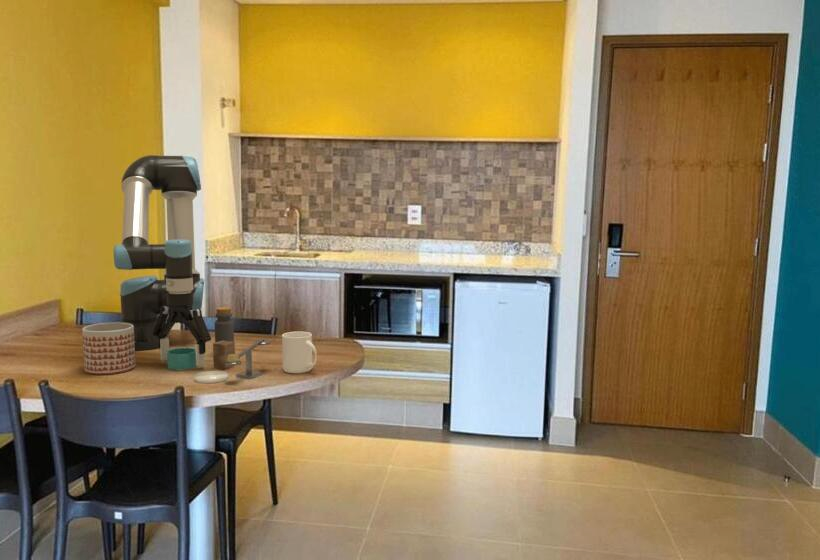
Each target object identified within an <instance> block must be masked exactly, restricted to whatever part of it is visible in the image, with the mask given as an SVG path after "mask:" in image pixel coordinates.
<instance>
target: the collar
mask: <svg viewBox="0 0 820 560" xmlns="http://www.w3.org/2000/svg"><path fill="white" fill-rule="evenodd" d="M166 362H167V369H168V370H174V371H182V370H183V371H184V370H190V369H191V370H192V369H194V368H196V367H197V368H198V366H197V365H196V348H194V347H179V348H178V347H176V348H172V349H169V350H168V351H167V359H166Z"/></svg>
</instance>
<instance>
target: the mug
mask: <svg viewBox="0 0 820 560" xmlns="http://www.w3.org/2000/svg"><path fill="white" fill-rule="evenodd" d="M281 338H282V340H281V342H282V343H281V344H282V348H281V349H282V370H283V372H285V373H288V374H305V373H308V372H310V371H311V370H312V368H313V367H314V366H315V365H316V363H317V359H318V358H317V355H318V353H317V348H316V346H315V344H313V333H311V332H308V331H290V332H285V333H282V335H281ZM313 353H314V358H315V359H314V360H313Z"/></svg>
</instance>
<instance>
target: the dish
mask: <svg viewBox="0 0 820 560" xmlns="http://www.w3.org/2000/svg"><path fill="white" fill-rule="evenodd" d="M228 379H229V372H226V371H221V370H209V371H201V372H198V373H196V374H195V375H194V382H196V383H199V384H216V383H222V382H225V381H227V380H228Z"/></svg>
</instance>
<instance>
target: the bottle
mask: <svg viewBox="0 0 820 560" xmlns="http://www.w3.org/2000/svg"><path fill="white" fill-rule="evenodd" d="M215 309H216V310H215V311H216V313H215V318H217V320H215V321H214V343H216V342H219V341H231V342H235V332H234V331H235V329H234V321H233V320H232V319H231V318H232V317H233V313H232V312H231V311H232V307H229V306H219V307H216V308H215Z"/></svg>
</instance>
